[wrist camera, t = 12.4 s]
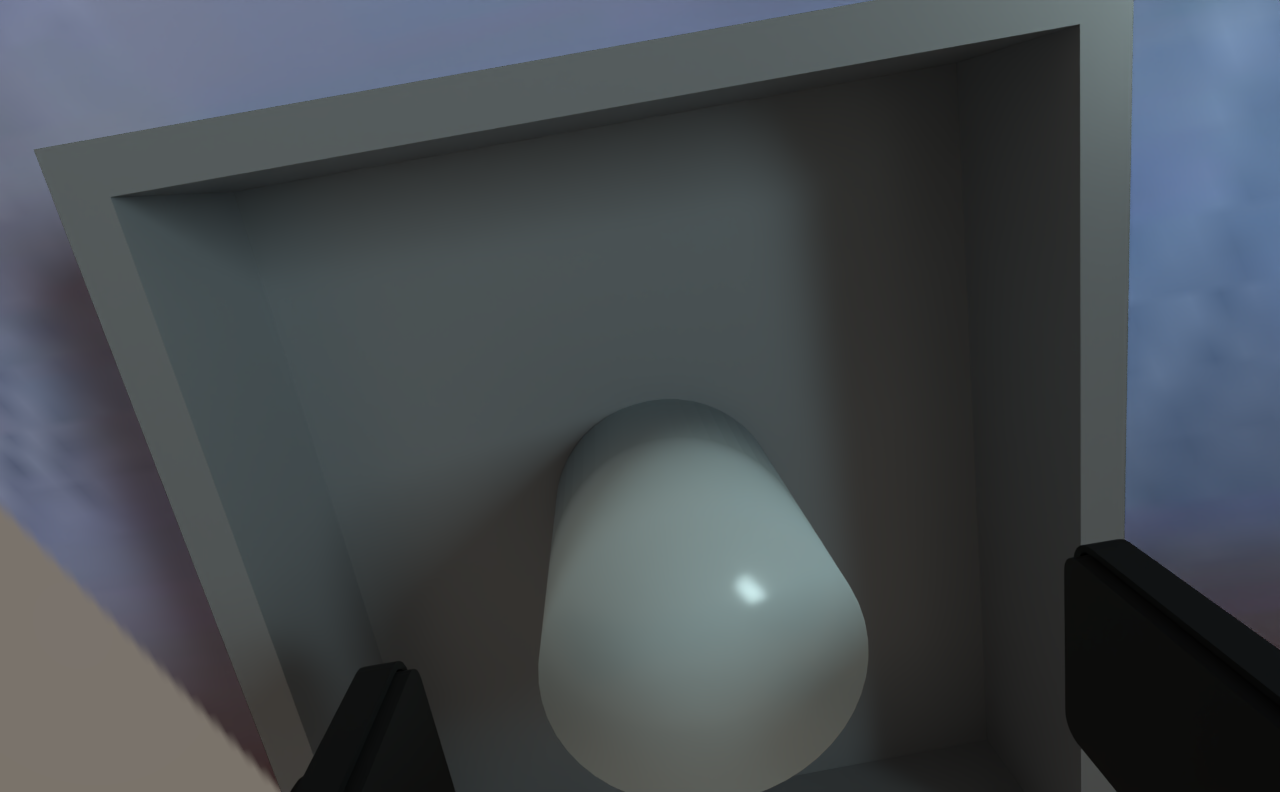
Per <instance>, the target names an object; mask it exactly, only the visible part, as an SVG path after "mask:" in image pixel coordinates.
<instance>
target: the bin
mask: <svg viewBox="0 0 1280 792" xmlns="http://www.w3.org/2000/svg"><path fill="white" fill-rule="evenodd" d="M1132 58H1133V0H873V1H868V2H862V3H856V4H851V5H845V6H840V7H834V8H828V9H823V10H817V11H811V12H806V13H800V14H795V15H789V16H783V17H778V18H772V19H766V20H761V21H755V22H749V23H744V24H738V25H733V26H727V27H721V28H716V29H710V30H704V31H699V32H693V33H688V34H682V35H676V36H671V37H665V38H659V39H654V40H648V41H642V42H637V43H631V44H626V45H620V46H614V47H609V48H603V49H597V50H592V51H586V52H581V53H575V54H569V55H564V56H558V57H552V58H547V59H541V60H535V61H530V62H524V63H519V64H513V65H507V66H502V67H496V68H490V69H485V70H479V71H474V72H468V73H462V74H457V75H451V76H445V77H440V78H434V79H428V80H423V81H417V82H412V83H406V84H400V85H395V86H389V87H383V88H378V89H372V90H367V91H361V92H355V93H350V94H344V95H338V96H333V97H327V98H321V99H316V100H310V101H305V102H299V103H293V104H288V105H282V106H276V107H271V108H265V109H260V110H254V111H248V112H243V113H237V114H231V115H226V116H220V117H214V118H209V119H203V120H198V121H192V122H186V123H181V124H175V125H169V126H164V127H158V128H153V129H147V130H141V131H136V132H130V133H124V134H119V135H113V136H107V137H102V138H96V139H91V140H85V141H79V142H74V143H68V144H62V145H57V146H51V147H46V148H40V149H34V152H35V154H36V157H37V159H38V162H39V165H40V167H41V170H42V172H43V175H44V178H45V180H46V183H47V185H48V188H49V191H50V193H51V196H52V198H53V201H54V204H55V206H56V209H57V211H58V214H59V216H60V219H61V222H62V224H63V227H64V229H65V232H66V235H67V237H68V240H69V242H70V245H71V248H72V250H73V253H74V255H75V258H76V261H77V263H78V266H79V268H80V271H81V274H82V276H83V279H84V281H85V284H86V287H87V289H88V292H89V294H90V297H91V299H92V302H93V305H94V307H95V310H96V312H97V315H98V318H99V320H100V323H101V325H102V328H103V331H104V333H105V336H106V338H107V341H108V344H109V346H110V349H111V351H112V354H113V357H114V359H115V362H116V364H117V367H118V370H119V372H120V375H121V377H122V380H123V382H124V385H125V388H126V390H127V393H128V395H129V398H130V401H131V403H132V406H133V408H134V411H135V414H136V416H137V419H138V421H139V424H140V427H141V429H142V432H143V434H144V437H145V440H146V442H147V445H148V447H149V450H150V453H151V455H152V458H153V460H154V463H155V465H156V468H157V471H158V473H159V476H160V478H161V481H162V484H163V486H164V489H165V491H166V494H167V497H168V499H169V502H170V504H171V507H172V510H173V512H174V515H175V517H176V520H177V523H178V525H179V528H180V530H181V533H182V536H183V538H184V541H185V543H186V546H187V549H188V551H189V554H190V556H191V559H192V561H193V564H194V567H195V569H196V572H197V574H198V577H199V580H200V582H201V585H202V587H203V590H204V593H205V595H206V598H207V600H208V603H209V606H210V608H211V611H212V613H213V616H214V619H215V621H216V624H217V626H218V629H219V632H220V634H221V637H222V639H223V642H224V644H225V647H226V650H227V652H228V655H229V657H230V660H231V663H232V665H233V668H234V670H235V673H236V676H237V678H238V681H239V683H240V686H241V689H242V691H243V694H244V696H245V699H246V702H247V704H248V707H249V709H250V712H251V715H252V717H253V720H254V722H255V725H256V727H257V730H258V733H259V735H260V738H261V740H262V743H263V746H264V748H265V751H266V753H267V756H268V759H269V761H270V764H271V766H272V769H273V772H274V774H275V777H276V779H277V782H278V785H279V787H280V790H281V792H290V791H291V789H292V788H293V786H294V785H295V784H296V782H297V781H298V779H300V778H301V777H303V776H304V774H305V772H306V770H307V768H308V766H309V764H310V762H311V760H312V758H313V756H314V754H315V752H316V750H317V748H318V746H319V744H320V742H321V741H322V739H323V737H324V735H325V733H326V731H327V729H328V727H329V725H330V723H331V721H332V719H333V717H334V715H335V713H336V711H337V709H338V707H339V706H340V704H341V702H342V700H343V698H344V696H345V694H346V692H347V690H348V688H349V686H350V684H351V682H352V680H353V678H354V676H355V674H356V673H357V671H358V670H359V669H360V668H362V667H365V666H371V665H377V664H383V663H389V662H395V661H401V662H403V663H404V664H405V666H406V667H407V670H410V669H416V670H417V671H418V672H419V674H420V676H421V679H422V682H423V686H424V689H425V692H426V696H427V699H428V702H429V706H430V709H431V712H432V716H433V719H434V722H435V725H436V729H437V732H438V735H439V739H440V742H441V745H442V749H443V752H444V755H445V759H446V762H447V765H448V768H449V772H450V775H451V778H452V782H453V785H454V788H455V792H624V791H622V790H620V789H617V788H615V787H613V786H611V785H609V784H608V783H606V782H604V781H603V780H601V779H599V778H598V777H596V776H594V775H593V774H592V773H591V772H589V771H588V770H587V769H586V768H584V767H583V766H582V765H581V764H579V762H578V761H577V760H576V759H575V758H574V757H573V756H572V755H571V754H570V753H569V752H568V751H567V750H566V748H565V747H564V746H563V744H562V743H561V741H560V740H559V739H558V737H557V736H556V734H555V732H554V730H553V728H552V726H551V724H550V722H549V720H548V718H547V715H546V712H545V709H544V706H543V703H542V700H541V694H540V688H539V675H538V662H539V653H540V644H541V634H542V625H543V616H544V607H545V598H546V588H547V579H548V570H549V561H550V552H551V542H552V533H553V524H554V515H555V505H556V497H557V489H558V483H559V480H560V476H561V473H562V470H563V468H564V466H565V463H566V461H567V459H568V457H569V456H570V454H571V452H572V451H573V449H574V447H575V446H576V445H577V444H578V442H579V441H580V440H581V439H582V438H583V436H584V435H585V434H586V433H587V432H588V431H590V430H591V429H592V428H593V427H594V426H595V425H596V424H598V423H599V422H600V421H602V420H603V419H605V418H606V417H608V416H610V415H611V414H613V413H615V412H617V411H619V410H621V409H624V408H626V407H629V406H631V405H634V404H638V403H642V402H646V401H652V400H660V399H680V400H688V401H694V402H698V403H701V404H705V405H708V406H711V407H713V408H715V409H718V410H720V411H722V412H724V413H725V414H727V415H729V416H731V417H732V418H734V419H735V420H736V421H738V422H739V423H740V424H741V425H743V426H744V427H745V428H746V429H747V430H748V431H749V432H750V433H751V434H752V435H753V436H754V438H755V439H756V441H757V442H758V443H759V445H760V446H761V447H762V449H763V451H764V452H765V454H766V455H767V457H768V458H769V460H770V462H771V463H772V465H773V466H774V468H775V469H776V471H777V473H778V474H779V476H780V477H781V479H782V480H783V482H784V484H785V485H786V487H787V488H788V490H789V491H790V493H791V495H792V496H793V498H794V499H795V501H796V502H797V504H798V506H799V507H800V509H801V510H802V512H803V513H804V515H805V517H806V518H807V520H808V521H809V523H810V524H811V526H812V528H813V529H814V531H815V532H816V534H817V535H818V537H819V539H820V540H821V542H822V543H823V545H824V546H825V548H826V550H827V551H828V553H829V554H830V556H831V557H832V559H833V561H834V562H835V564H836V565H837V567H838V568H839V570H840V572H841V573H842V575H843V576H844V578H845V579H846V581H847V583H848V584H849V586H850V587H851V589H852V591H853V593H854V595H855V597H856V599H857V601H858V603H859V605H860V608H861V611H862V614H863V617H864V620H865V625H866V631H867V636H868V666H867V674H866V679H865V682H864V686H863V690H862V693H861V696H860V698H859V701H858V703H857V705H856V708H855V710H854V712H853V714H852V716H851V717H850V719H849V721H848V722H847V724H846V726H845V727H844V729H843V730H842V731H841V733H840V734H839V735H838V736H837V738H836V739H835V740H834V742H833V743H832V744H831V745H830V746H829V747H828V748H827V749H826V750H825V751H824V752H823V753H822V754H821V755H820V756H819V757H818V758H817V759H816V760H814V761H813V762H812V763H811V764H809V765H808V766H807V767H806V768H804V769H803V770H802V771H800V772H798V773H797V774H795V775H794V776H792V777H791V778H789V779H787V780H786V781H784V782H782V783H780V784H778V785H776V786H773V787H771V788H769V789H767V790H765V791H762V792H1116V790H1115V789H1114V788H1113V787H1112V785H1111V784H1110V783H1109V782H1108V781H1107V779H1106V778H1105V777H1104V776H1103V774H1102V773H1101V772H1100V771H1099V769H1098V768H1097V767H1096V766H1095V765H1094V763H1093V762H1092V761H1091V760H1090V758H1089V757H1088V756H1087V755H1086V753H1085V752H1084V751H1083V750H1082V749H1081V747H1080V746H1079V745H1078V744H1077V742H1076V741H1075V739H1074V738H1073V736H1072V734H1071V732H1070V729H1069V727H1068V724H1067V720H1066V714H1065V619H1064V565H1065V562H1066V560H1067V559H1068V558H1072V557H1074V553H1075V550H1076V548H1077V547H1079V546H1080V545H1086V544H1092V543H1097V542H1103V541H1109V540H1115V539H1124V524H1125V466H1126V407H1127V349H1128V291H1129V233H1130V174H1131V116H1132Z"/></svg>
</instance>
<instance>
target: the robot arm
mask: <svg viewBox="0 0 1280 792" xmlns="http://www.w3.org/2000/svg"><path fill="white" fill-rule="evenodd" d="M1064 619H1065V714H1066V720H1067V724H1068V727H1069V729H1070V732H1071V734H1072V736H1073V738H1074V739H1075V741H1076V742H1077V744H1078V745H1079V746H1080V747H1081V749H1082V750H1083V751H1084V752H1085V753H1086V755H1087V756H1088V757H1089V758H1090V760H1091V761H1092V762H1093V763H1094V765H1095V766H1096V767H1097V768H1098V769H1099V771H1100V772H1101V773H1102V774H1103V776H1104V777H1105V778H1106V779H1107V781H1108V782H1109V783H1110V784H1111V785H1112V787H1113V788H1114V789H1115V790H1116V792H1280V650H1279V649H1278V648H1276V647H1275V646H1273V645H1272V644H1271V643H1269V642H1268V641H1266V640H1265V639H1264V638H1262V637H1261V636H1259V635H1258V634H1257V633H1255V632H1254V631H1252V630H1251V629H1250V628H1248V627H1247V626H1246V625H1244V624H1243V623H1241V622H1240V621H1239V620H1237V619H1236V618H1234V617H1233V616H1232V615H1230V614H1229V613H1227V612H1226V611H1225V610H1223V609H1222V608H1220V607H1219V606H1218V605H1216V604H1215V603H1213V602H1212V601H1211V600H1209V599H1208V598H1206V597H1205V596H1204V595H1202V594H1201V593H1199V592H1198V591H1197V590H1195V589H1194V588H1192V587H1191V586H1190V585H1188V584H1187V583H1186V582H1184V581H1183V580H1181V579H1180V578H1179V577H1177V576H1176V575H1174V574H1173V573H1172V572H1170V571H1169V570H1167V569H1166V568H1165V567H1163V566H1162V565H1160V564H1159V563H1158V562H1156V561H1155V560H1153V559H1152V558H1151V557H1149V556H1148V555H1146V554H1145V553H1144V552H1142V551H1141V550H1139V549H1138V548H1137V547H1135V546H1134V545H1132V544H1131V543H1130V542H1128V541H1126V540H1124V539H1115V540H1109V541H1103V542H1097V543H1092V544H1086V545H1080V546H1079V547H1077V548H1076V550H1075V553H1074V557H1072V558H1068V559H1067V560H1066V562H1065V565H1064ZM290 792H455V788H454V785H453V782H452V778H451V775H450V772H449V768H448V765H447V762H446V759H445V755H444V752H443V749H442V745H441V742H440V739H439V735H438V732H437V729H436V725H435V722H434V719H433V716H432V712H431V709H430V706H429V702H428V699H427V696H426V692H425V689H424V686H423V682H422V679H421V676H420V674H419V672H418V671H417V670H416V669H410V670H407V667H406V666H405V664H404V663H403V662H401V661H395V662H389V663H383V664H377V665H371V666H365V667H362V668H360V669H359V670H358V671H357V673H356V674H355V676H354V678H353V680H352V682H351V684H350V686H349V688H348V690H347V692H346V694H345V696H344V698H343V700H342V702H341V704H340V706H339V707H338V709H337V711H336V713H335V715H334V717H333V719H332V721H331V723H330V725H329V727H328V729H327V731H326V733H325V735H324V737H323V739H322V741H321V742H320V744H319V746H318V748H317V750H316V752H315V754H314V756H313V758H312V760H311V762H310V764H309V766H308V768H307V770H306V772H305V774H304V776H303V777H301V778H300V779H298V781H297V782H296V784H295V785H294V786H293V788H292V789H291V791H290Z"/></svg>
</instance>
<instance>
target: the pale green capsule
mask: <svg viewBox="0 0 1280 792" xmlns="http://www.w3.org/2000/svg"><path fill="white" fill-rule="evenodd" d="M867 666H868V636H867V631H866V625H865V620H864V617H863V614H862V611H861V608H860V605H859V603H858V601H857V599H856V597H855V595H854V593H853V591H852V589H851V587H850V586H849V584H848V583H847V581H846V579H845V578H844V576H843V575H842V573H841V572H840V570H839V568H838V567H837V565H836V564H835V562H834V561H833V559H832V557H831V556H830V554H829V553H828V551H827V550H826V548H825V546H824V545H823V543H822V542H821V540H820V539H819V537H818V535H817V534H816V532H815V531H814V529H813V528H812V526H811V524H810V523H809V521H808V520H807V518H806V517H805V515H804V513H803V512H802V510H801V509H800V507H799V506H798V504H797V502H796V501H795V499H794V498H793V496H792V495H791V493H790V491H789V490H788V488H787V487H786V485H785V484H784V482H783V480H782V479H781V477H780V476H779V474H778V473H777V471H776V469H775V468H774V466H773V465H772V463H771V462H770V460H769V458H768V457H767V455H766V454H765V452H764V451H763V449H762V447H761V446H760V445H759V443H758V442H757V441H756V439H755V438H754V436H753V435H752V434H751V433H750V432H749V431H748V430H747V429H746V428H745V427H744V426H743V425H741V424H740V423H739V422H738V421H736V420H735V419H734V418H732V417H731V416H729V415H727V414H725V413H724V412H722V411H720V410H718V409H715V408H713V407H711V406H708V405H705V404H701V403H698V402H694V401H688V400H680V399H660V400H652V401H646V402H642V403H638V404H634V405H631V406H629V407H626V408H624V409H621V410H619V411H617V412H615V413H613V414H611V415H610V416H608V417H606V418H605V419H603V420H602V421H600V422H599V423H598V424H596V425H595V426H594V427H593V428H592V429H591V430H590V431H588V432H587V433H586V434H585V435H584V436H583V438H582V439H581V440H580V441H579V442H578V444H577V445H576V446H575V447H574V449H573V451H572V452H571V454H570V456H569V457H568V459H567V461H566V463H565V466H564V468H563V470H562V473H561V476H560V480H559V483H558V489H557V497H556V505H555V515H554V524H553V533H552V542H551V552H550V561H549V570H548V579H547V588H546V598H545V607H544V616H543V625H542V634H541V644H540V653H539V662H538V675H539V688H540V694H541V700H542V703H543V706H544V709H545V712H546V715H547V718H548V720H549V722H550V724H551V726H552V728H553V730H554V732H555V734H556V736H557V737H558V739H559V740H560V741H561V743H562V744H563V746H564V747H565V748H566V750H567V751H568V752H569V753H570V754H571V755H572V756H573V757H574V758H575V759H576V760H577V761H578V762H579V764H581V765H582V766H583V767H584V768H586V769H587V770H588V771H589V772H591V773H592V774H593V775H594V776H596V777H598V778H599V779H601V780H603V781H604V782H606V783H608V784H609V785H611V786H613V787H615V788H617V789H620V790H622V791H624V792H762V791H765V790H767V789H769V788H771V787H773V786H776V785H778V784H780V783H782V782H784V781H786V780H787V779H789V778H791V777H792V776H794V775H795V774H797V773H798V772H800V771H802V770H803V769H804V768H806V767H807V766H808V765H809V764H811V763H812V762H813V761H814V760H816V759H817V758H818V757H819V756H820V755H821V754H822V753H823V752H824V751H825V750H826V749H827V748H828V747H829V746H830V745H831V744H832V743H833V742H834V740H835V739H836V738H837V736H838V735H839V734H840V733H841V731H842V730H843V729H844V727H845V726H846V724H847V722H848V721H849V719H850V717H851V716H852V714H853V712H854V710H855V708H856V705H857V703H858V701H859V698H860V696H861V693H862V690H863V686H864V682H865V679H866V674H867Z"/></svg>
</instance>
